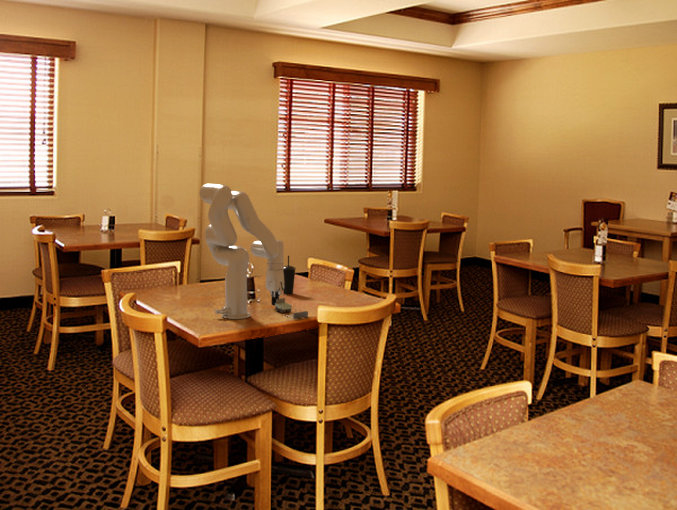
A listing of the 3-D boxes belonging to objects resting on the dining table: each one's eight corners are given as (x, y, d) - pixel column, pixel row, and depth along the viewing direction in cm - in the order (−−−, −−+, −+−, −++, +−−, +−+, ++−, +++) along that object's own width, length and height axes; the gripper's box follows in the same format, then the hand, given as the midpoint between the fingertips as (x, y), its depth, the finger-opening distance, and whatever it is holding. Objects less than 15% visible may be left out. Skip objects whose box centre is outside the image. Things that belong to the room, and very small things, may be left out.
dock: (294, 319, 304) (294, 313, 303) (282, 315, 312) (282, 308, 311) (307, 317, 308) (307, 311, 307) (296, 313, 316) (296, 307, 315)
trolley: (274, 310, 319) (274, 299, 319) (284, 309, 323) (285, 297, 322) (281, 313, 314) (281, 301, 313) (292, 312, 317) (292, 300, 316)
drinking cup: (293, 295, 353) (293, 257, 350) (279, 294, 355) (279, 256, 352) (297, 292, 361) (297, 255, 358) (283, 292, 362) (283, 254, 359)
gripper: (260, 264, 325) (260, 302, 328) (276, 269, 313) (276, 309, 316) (274, 263, 329) (274, 301, 332) (290, 268, 317) (290, 307, 320)
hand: (275, 304), depth 324 cm, fingers closed
